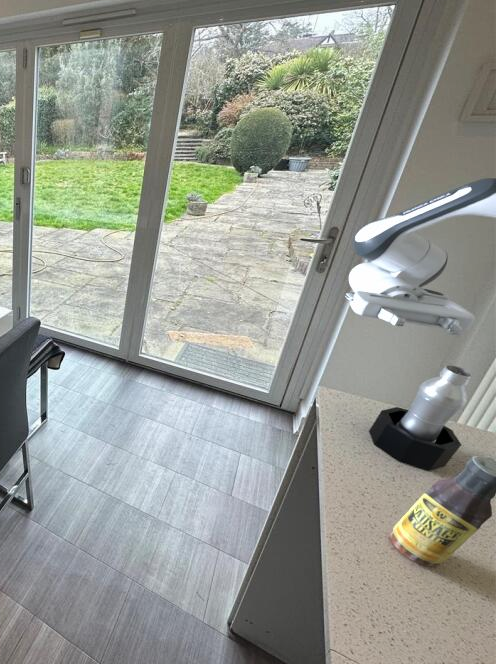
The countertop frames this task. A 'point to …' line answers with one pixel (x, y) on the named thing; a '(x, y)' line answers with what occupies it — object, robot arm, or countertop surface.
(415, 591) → the countertop surface
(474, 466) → the sauce bottle
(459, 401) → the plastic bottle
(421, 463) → the bowl
